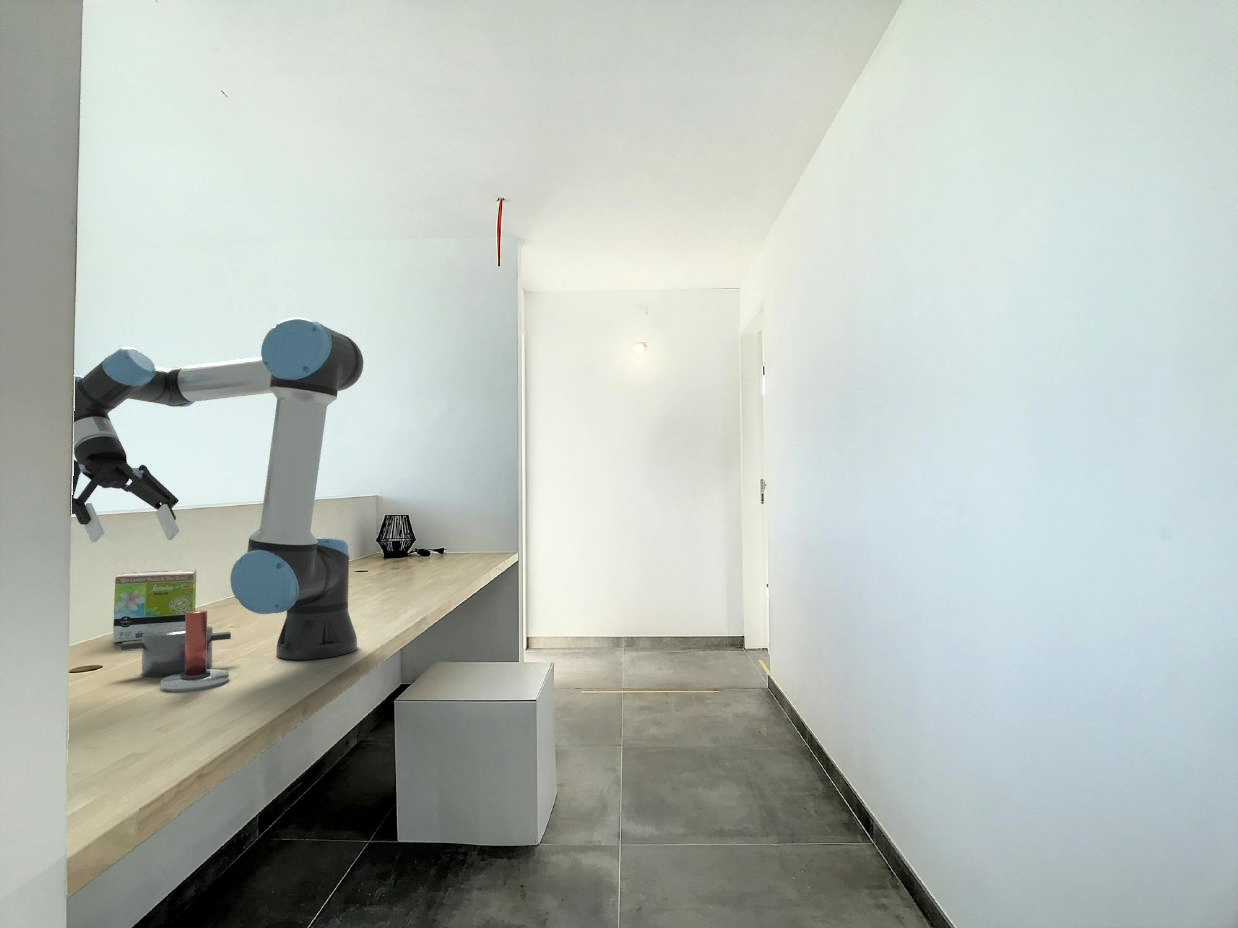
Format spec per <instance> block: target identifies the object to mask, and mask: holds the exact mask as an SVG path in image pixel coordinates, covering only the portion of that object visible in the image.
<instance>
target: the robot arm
mask: <svg viewBox="0 0 1238 928" xmlns="http://www.w3.org/2000/svg"><path fill="white" fill-rule="evenodd" d="M364 363H365V362H364V357H363V353H362V351H361V349H360V347H359V346H358V344H357V343H356V342H355V341H354V340H353V339H351V338H350V337H349V336H346V335H345V334H343V333H339V332H338V331H335V330H334V329H332V328H329V327H327V326H325V325H323V324H322V323H320V322H318V321H314V320H309V319H306V318H302V317H292V318H291V317H290V318H287V319H283V320H281V321H280V322H279V323H277V324H276V325H274V326H272V328H270V330H268V332H267V333H266V335H265V336H264V339H263V341H262V344H261V350H260V356H259V357H251V358H244V359H235V360H227V361H219V362H212V363H204V364H195V365H186V366H179V367H171V368H166V367H162V366H156V365H155V364H154V362H153V361H152V359H151V358H150V357H149V356H148V355H146V354H145V353H144V352H142V351H139V350H138V349H136V348H135V347H130V346H124V347H121V348H119V349H117V350H116V351H115V352H113V353H112V354H110V355H107V356H106V357H105V358H104V359H103V360H102V361H101V362H100V363H99V364H98V365H96V366H95V367H94V368H92V370H90V371H89V372H88V373H87V374H86V375H85V376H83V375H74V376H75V411H74V452H73V455H74V457H75V459H73V460H74V476H73V495H72V514H71V515H75V517H76V519H77V521H78V523H79V524H80V525H84V528H85V531H86V533H87V535H88V537H89V540H90V543H97V542H98V541H99V540H100V539H101V538H102V537H103V535H104V534H106V533H105V530H104V527H103V526H102V523H101V522H100V519H99V517H98V514H97V512H96V510H95V508H94V505H93V503H92V502H87V501H88V500H89V499H90V497H91V496H92V494H93V492H94V491H95V490H96V488H98V486H100V487H102V488H103V489H111V488H112V489H117V490H118V489H119V490H120V489H121V490H123V491H124V492H125V493H126V492H127V493H131V494H133V495H134V496H136V497H137V498H139V499H140V500H142V501H143V502H145V503H146V504H148V505H149V506H151V507H153V508H154V509H155V510H157V511H155V512H154V514H155V516H156V518H157V520H158V521H159V524H160V526H161V528H162V530H163V533H164V535H165V537H166V539H167V541H172V540H173V539H174V538H175V537H176V536H177V535H178V534H179V533H180V532H181V531H180V529H179V527H178V524H177V522H176V520H177V517H176V514H175V513H174V511H173V510H174V509H173V508H174V507H175V506H176V505H177V504H178V503H179V498H178V497H176V496H175V494H173V493H172V492H171V491H170V490H169V489H168V488H166V487H165V485H164V484H162V483H161V482H160V481H159V480H158V479H157V478H156V477H155V476H154V475H153V474H152V473H151V472H150V470H149V468H148V467H147V466H146V465H145V464H140V466H139V467H133V466H130V464H129V463H128V459H127V457H128V456H127V453H126V451H125V448H124V446H123V444H122V442H121V441H120V437H119V435H118V433H117V431H116V429H115V426H114V425H113V423H112V421H111V418H110V415H109V413H110V412H112V411H113V410H114V409H116V408H117V407H119V406H120V405H121V404H122V403H124V402H125V401H126V400H128V399H129V400H135V401H141V402H147V403H154V404H158V405H163V406H168V407H173V408H174V407H175V408H176V407H177V408H178V407H180V408H185V407H190V406H191V405H193V404H195V403H196V402H202V401H210V400H211V401H212V400H219V399H229V398H237V397H246V396H254V395H255V396H256V395H263V394H272V395H274V396H275V398H276V405H275V406H276V407H275V411H274V413H275V414H274V420H273V421H274V422H273V429H272V436H271V443H270V452H269V458H268V466H267V475H266V481H265V487H264V495H263V502H262V509H261V510H262V511H261V517H260V526H259V528H258V529H257V530H256V531H254V532H253V533H252V534H250V535H249V538H248V543H247V544H248V545H247V550H246V552H245V553H244V554H242V555H241V557H240V558H239V559H237V560H236V561H235V563H234V565H233V566H232V568H231V572H230V578H229V580H230V588H231V591H232V593H233V596H234V598H235V599H236V600H238V602H239V603H240V605H241V606H242V607H243V608H244V609H246V610H248V611H250V612H252V613H254V614H259V615H271V614H279V613H280V614H281V613H284V612H286V616H285V619H284V622H283V625H282V628H281V631H280V633H279V637H278V639H277V643H276V657H278V658H280V659H284V660H298V661H299V660H303V661H304V660H318V659H319V660H320V659H326V658H333V657H337V656H342V655H346V654H349V653H352V652H354V651H356V650H357V649H358V637H357V633H356V631H355V628H354V625H353V622H352V619H351V616H350V613H349V575H350V574H349V567H350V566H349V565H350V564H349V563H350V562H349V560H350V554H349V545H348V542H347V541H346V540H345V539H340V538H333V537H332V538H330V537H329V538H327V537H326V538H325V537H316V536H314V534H313V533H312V532H311V531H312V530H311V529H312V521H313V513H314V507H315V506H314V505H315V499H316V490H317V484H318V475H319V469H320V461H321V454H322V447H323V441H324V431H325V425H326V416H327V410H328V406H329V405H331V404H332V403H333V402H334V401H336V400H338V393H339V392H341V391H344V390H347V389H349V388H351V387H352V386H354V385H355V384H356V383H357V382H358V380H359V379H360V378H361V376H362V373H363V371H364ZM81 474H83V476H85V477H86V478H88V479H89V482H88V483H87V485H86V486H85V487H84V489H83V490H82V492H80V494H79V495H78V497H77V498H75V493H76V491H77V489H76V488H77V485H78V481H79V478H80V475H81ZM130 480H131V482H130V483H129V484H127V483H128V482H129V481H130ZM86 502H87V503H86ZM85 503H86V504H85Z"/></svg>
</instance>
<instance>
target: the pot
mask: <svg viewBox="0 0 1238 928" xmlns="http://www.w3.org/2000/svg"><path fill="white" fill-rule="evenodd" d="M231 637H232V633H231V631H223V632H222V631H220V632H214V633H213V626H208V625H207V670H208V669H211V667H213V641H223V640H231ZM121 642H122V643H121V646H120V647H121V651H126V650H127V651H128V650H138V649H141V675H142V676H143V677H147V678H148V677H149V678H165V677H168V676H171V675H174V674H178V673H183V672H185V626H179V627H170V628H163V629H157V630H153V631H149V632H146V633H144V634H143V635H142V640H131V641H121Z"/></svg>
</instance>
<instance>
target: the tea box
mask: <svg viewBox="0 0 1238 928" xmlns="http://www.w3.org/2000/svg"><path fill="white" fill-rule="evenodd" d="M196 591H197V569H180V570H179V569H178V570H174V569H173V570H148V571H125V572H122V573H120V574H119V575H117V576H115V580H114V600H113V601H114V604H113V606H114V607H113V622H112V623H113V627H112V628H113V631H112V632H113V637H112V638H113V639H112V640H113V644H114V643H115V644H116V643H120V642H129V641H140V640H142V635H143V634H144V633H146V632H149V631H153V630H157V629H163V628H170V627H179V626H185V615H186V612H191V611H196V601H197V600H196V599H197V598H196V595H197V593H196Z"/></svg>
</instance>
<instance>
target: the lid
mask: <svg viewBox="0 0 1238 928" xmlns="http://www.w3.org/2000/svg"><path fill="white" fill-rule="evenodd" d="M207 626H208V611H207V610H195V611H191V612H186V615H185V672H183V673H178V674H174V675H171V676H168V677H162V679H161V680H160V690H161V691H163V692H170V693H173V692H174V693H183V692H184V693H185V692H192V691H193V692H195V691H201V690H206V689H211V688H216V687H218V686H221V684H222V685H224V684H226V683H228V682H229V680H230V672H229V671H228V670H225V669H216V668H215V669H212V668H208V669H207ZM227 681H228V682H227Z"/></svg>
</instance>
